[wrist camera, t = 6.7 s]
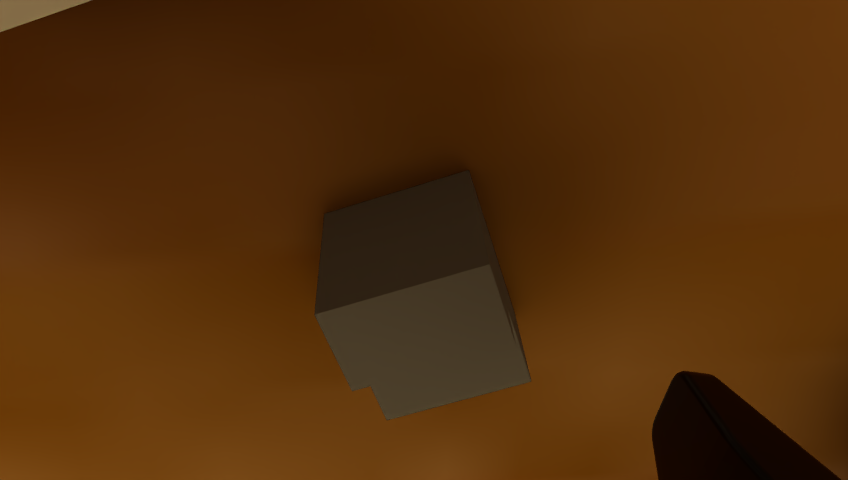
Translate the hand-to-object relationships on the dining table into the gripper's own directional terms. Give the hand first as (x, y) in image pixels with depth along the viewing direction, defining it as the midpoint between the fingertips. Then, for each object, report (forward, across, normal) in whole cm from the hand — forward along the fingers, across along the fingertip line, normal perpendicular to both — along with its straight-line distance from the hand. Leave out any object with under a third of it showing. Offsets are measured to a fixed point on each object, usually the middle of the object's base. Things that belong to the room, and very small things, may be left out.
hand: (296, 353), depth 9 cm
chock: (+12, -3, +6) cm, 14 cm away
